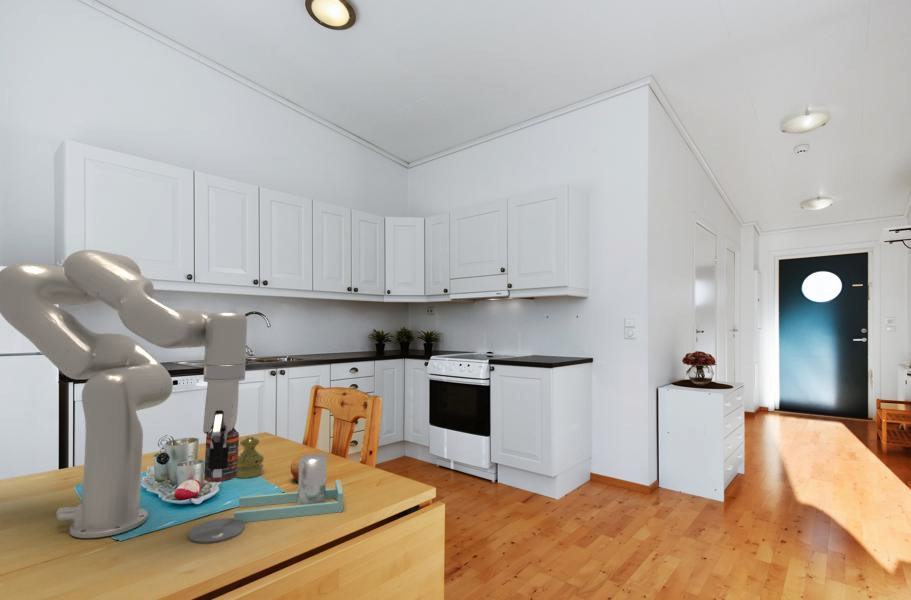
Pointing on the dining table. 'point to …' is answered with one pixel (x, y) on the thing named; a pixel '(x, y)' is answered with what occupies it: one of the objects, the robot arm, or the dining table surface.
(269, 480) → the dining table surface
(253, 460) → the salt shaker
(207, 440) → the supplement bottle
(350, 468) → the dining table surface
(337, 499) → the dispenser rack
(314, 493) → the can
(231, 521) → the coaster
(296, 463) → the fruit
